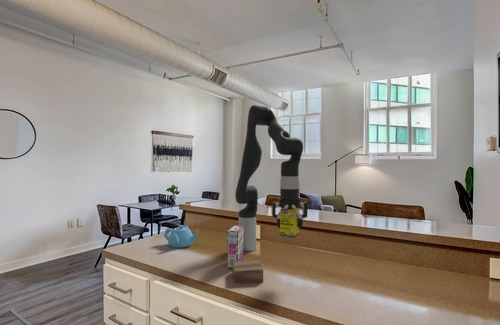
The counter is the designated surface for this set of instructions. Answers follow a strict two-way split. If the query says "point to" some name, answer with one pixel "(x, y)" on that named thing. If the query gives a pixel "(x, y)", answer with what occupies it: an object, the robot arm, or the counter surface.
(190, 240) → the teapot
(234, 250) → the candy bar box
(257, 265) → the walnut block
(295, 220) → the supplement box
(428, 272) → the counter surface
